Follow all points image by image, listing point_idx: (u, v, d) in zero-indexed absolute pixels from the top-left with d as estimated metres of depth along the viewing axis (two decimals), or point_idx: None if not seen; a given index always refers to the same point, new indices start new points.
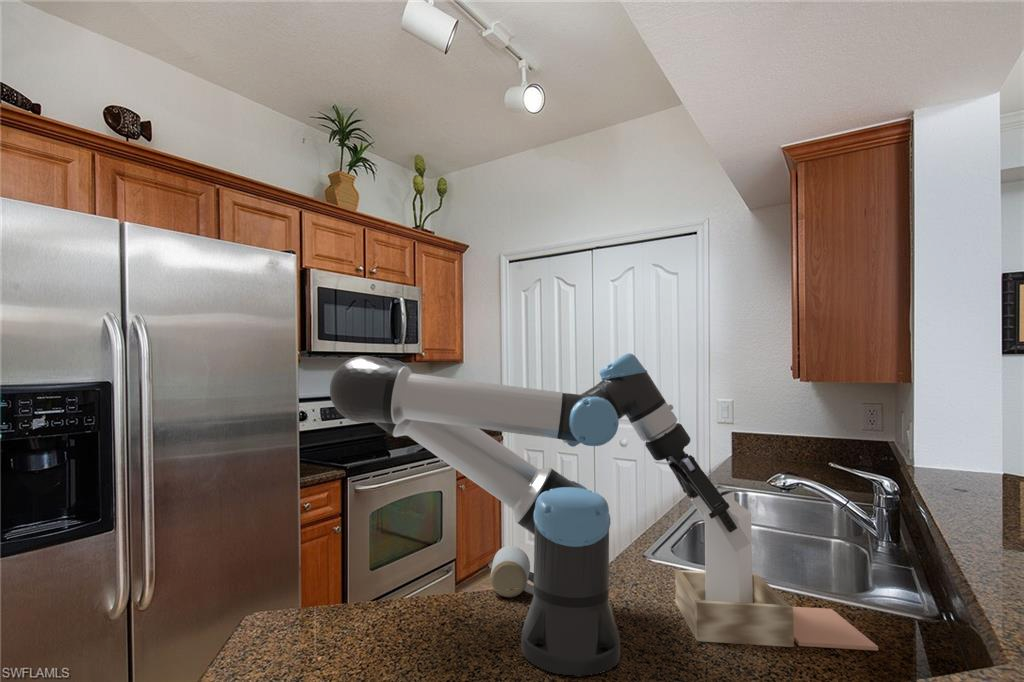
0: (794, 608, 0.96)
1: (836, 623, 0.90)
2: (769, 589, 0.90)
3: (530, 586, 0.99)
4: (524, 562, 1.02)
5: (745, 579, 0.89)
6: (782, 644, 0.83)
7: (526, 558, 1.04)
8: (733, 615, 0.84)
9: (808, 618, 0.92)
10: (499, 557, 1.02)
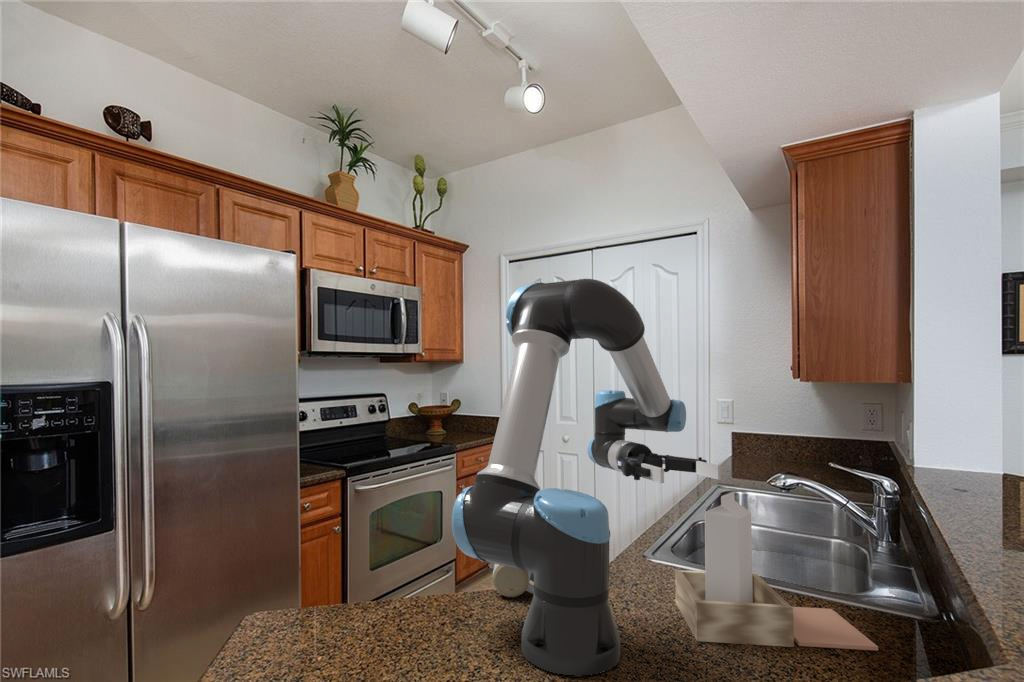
0: (794, 608, 0.96)
1: (836, 623, 0.90)
2: (769, 589, 0.90)
3: (532, 586, 0.99)
4: None
5: (745, 579, 0.89)
6: (782, 644, 0.83)
7: None
8: (733, 615, 0.84)
9: (808, 618, 0.92)
10: None
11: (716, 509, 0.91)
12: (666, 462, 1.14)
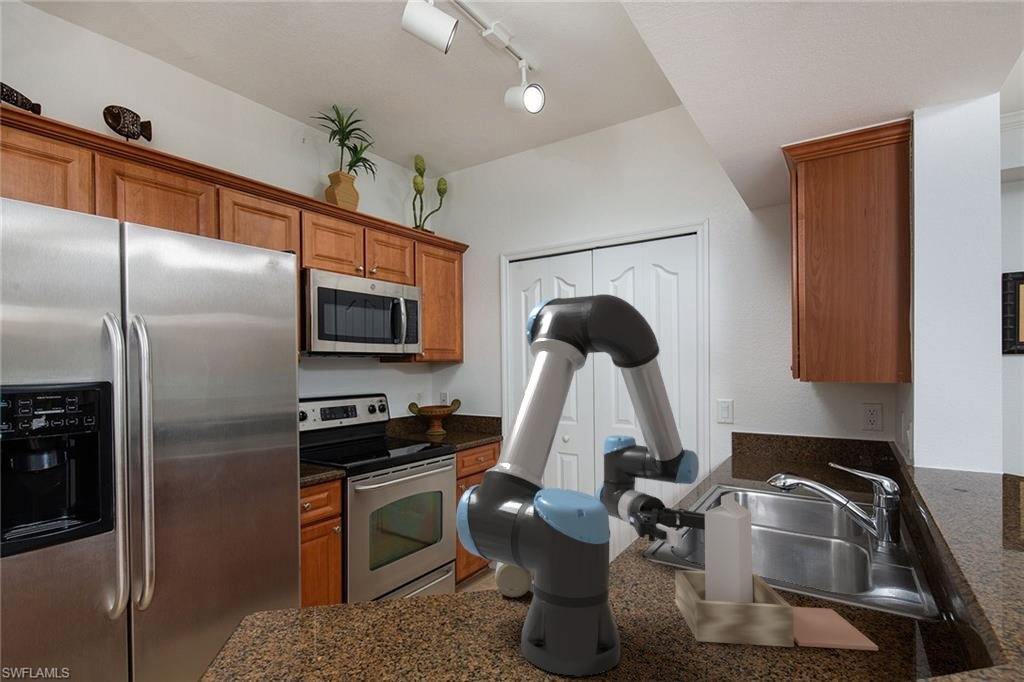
0: (794, 608, 0.96)
1: (836, 623, 0.90)
2: (769, 589, 0.90)
3: None
4: None
5: (745, 579, 0.89)
6: (782, 644, 0.83)
7: None
8: (733, 615, 0.84)
9: (808, 618, 0.92)
10: None
11: (716, 509, 0.91)
12: (680, 518, 1.09)
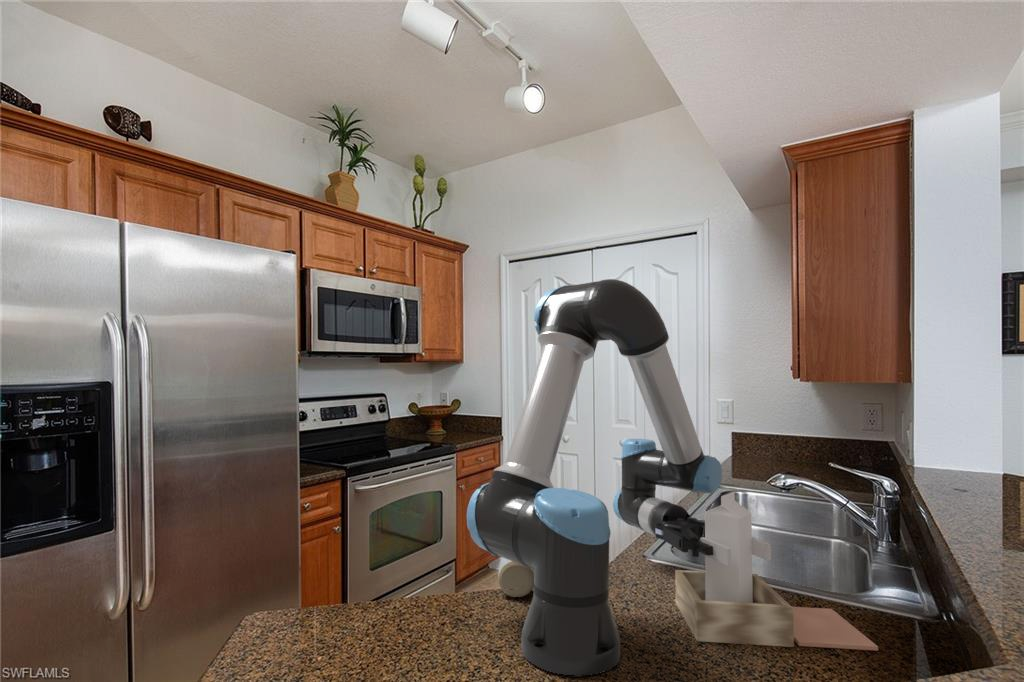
0: (794, 608, 0.96)
1: (836, 623, 0.90)
2: (769, 589, 0.90)
3: None
4: None
5: (745, 579, 0.89)
6: (782, 644, 0.83)
7: None
8: (733, 615, 0.84)
9: (808, 618, 0.92)
10: None
11: (716, 509, 0.91)
12: None
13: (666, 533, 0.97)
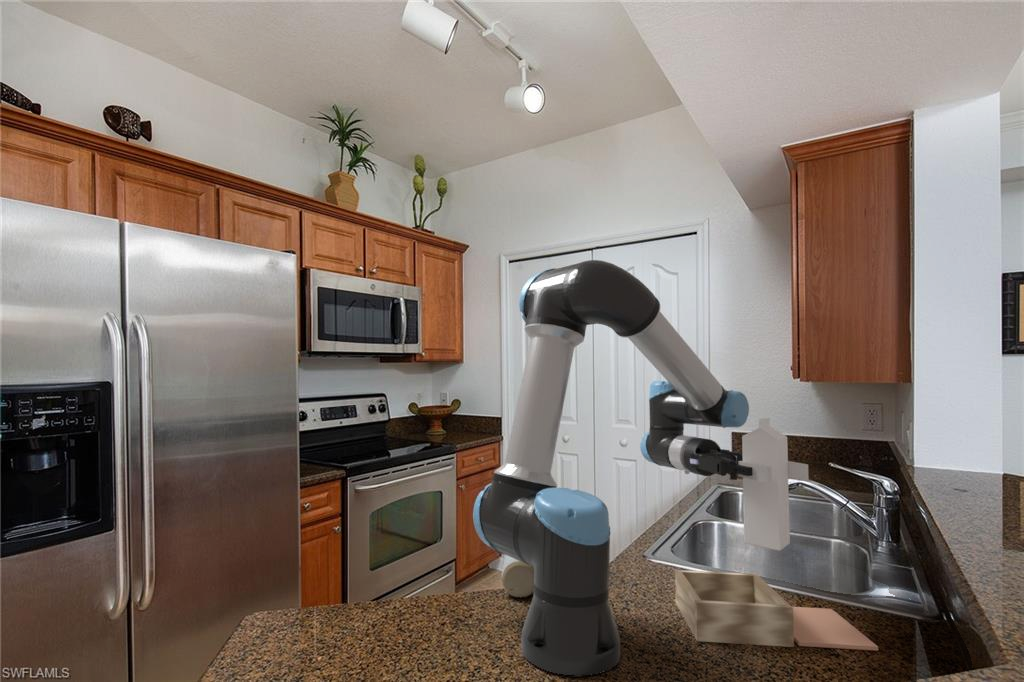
0: (794, 608, 0.96)
1: (836, 623, 0.90)
2: (769, 589, 0.90)
3: None
4: None
5: (783, 499, 0.90)
6: (782, 644, 0.83)
7: None
8: (733, 615, 0.84)
9: (808, 618, 0.92)
10: (510, 557, 1.02)
11: (754, 432, 0.93)
12: (738, 459, 1.02)
13: (702, 461, 0.99)
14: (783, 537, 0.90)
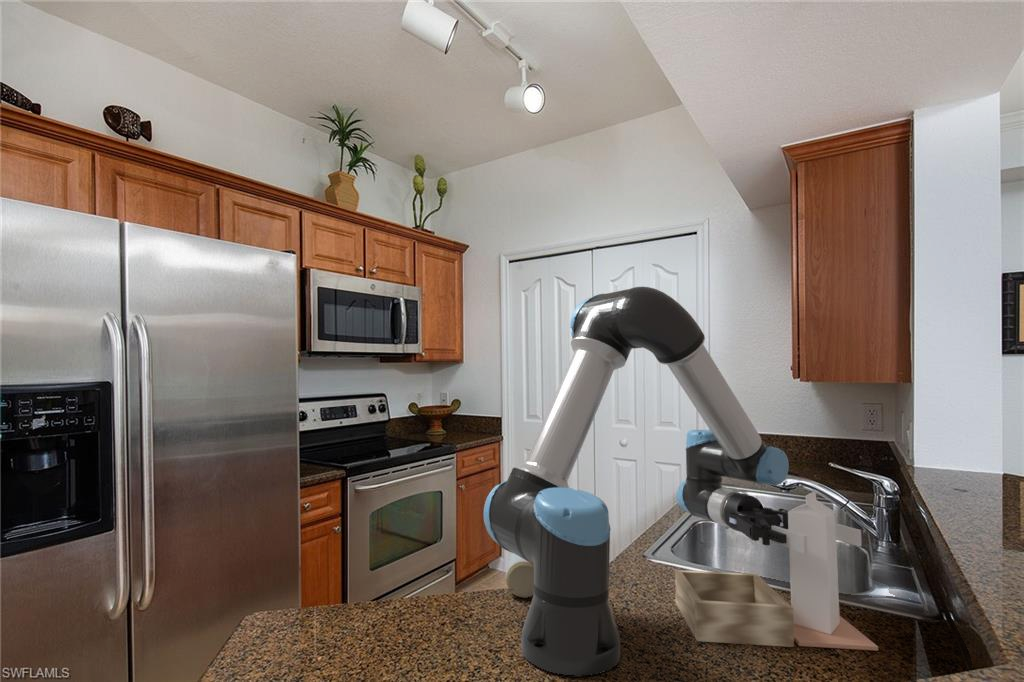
0: None
1: None
2: (769, 589, 0.90)
3: None
4: None
5: (832, 579, 0.88)
6: (782, 644, 0.83)
7: None
8: (733, 615, 0.84)
9: None
10: (514, 557, 1.02)
11: (800, 508, 0.90)
12: (784, 519, 1.00)
13: (739, 522, 0.97)
14: (833, 619, 0.87)
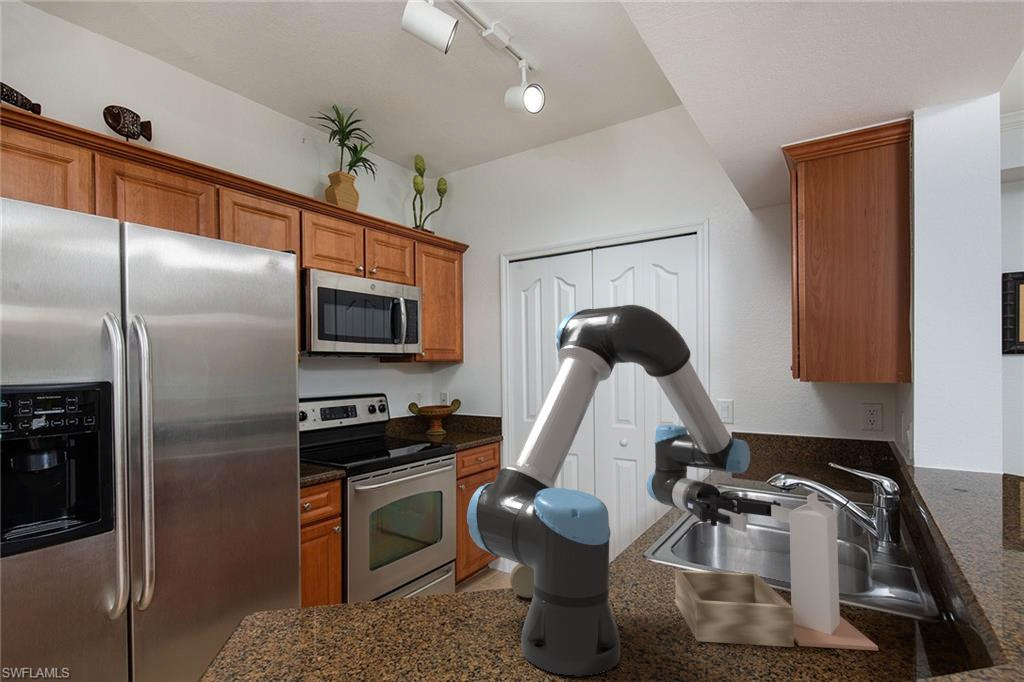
0: None
1: None
2: (769, 589, 0.90)
3: None
4: None
5: (833, 580, 0.88)
6: (782, 644, 0.83)
7: None
8: (733, 615, 0.84)
9: None
10: None
11: (802, 509, 0.90)
12: (738, 504, 1.11)
13: (694, 506, 1.09)
14: (833, 620, 0.87)
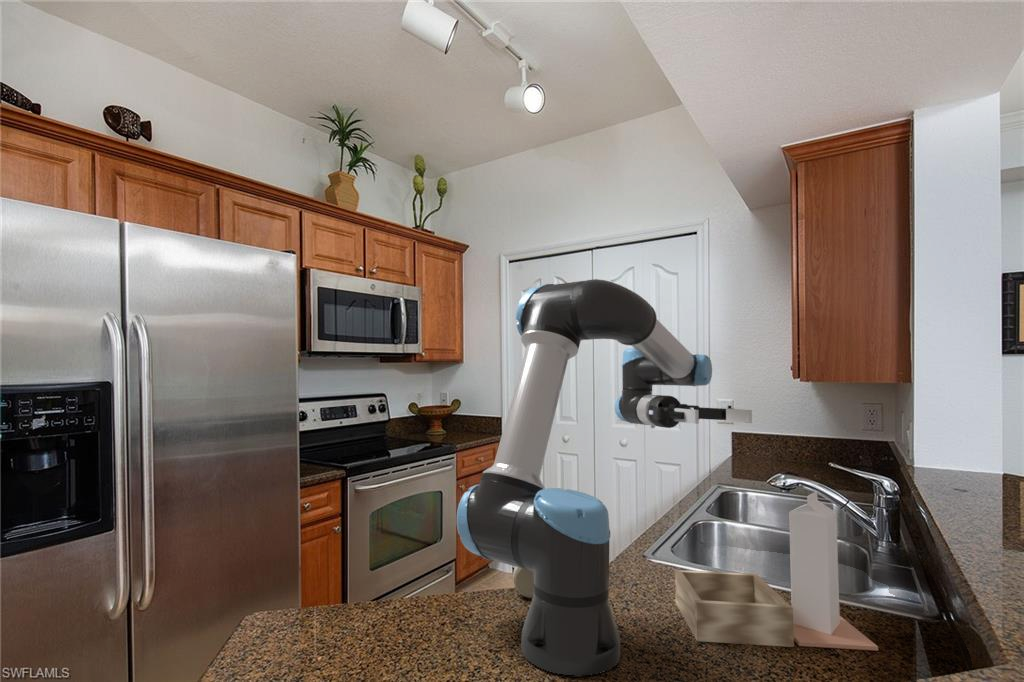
0: None
1: None
2: (769, 589, 0.90)
3: None
4: None
5: (833, 580, 0.88)
6: (782, 644, 0.83)
7: None
8: (733, 615, 0.84)
9: None
10: None
11: (802, 509, 0.90)
12: None
13: (653, 411, 1.15)
14: (833, 620, 0.87)
